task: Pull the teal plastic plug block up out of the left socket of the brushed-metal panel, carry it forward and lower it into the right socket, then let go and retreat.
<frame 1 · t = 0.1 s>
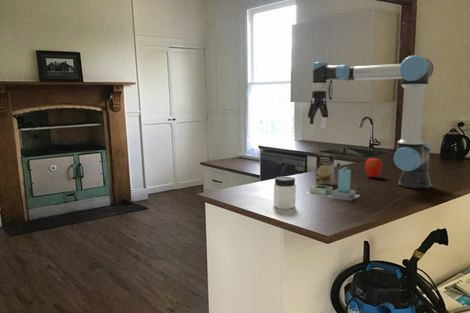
hand: (317, 129, 215), 28 cm above the worktop, fingers open, 13 cm apart
jar: (284, 206, 160), on the worktop
plug: (343, 196, 174), point 1 cm above the worktop, touching panel
coffee box: (324, 185, 202), on the worktop
apple: (372, 177, 222), on the worktop
panel: (332, 196, 177), on the worktop
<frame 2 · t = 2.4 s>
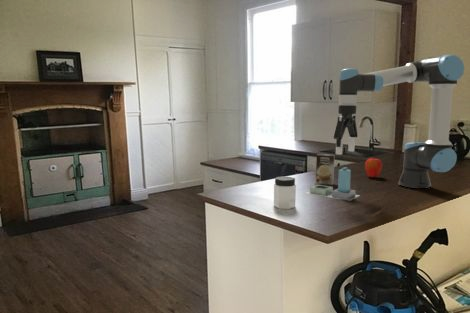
hand: (345, 152, 171), 21 cm above the worktop, fingers open, 13 cm apart
nothing on the worktop moved.
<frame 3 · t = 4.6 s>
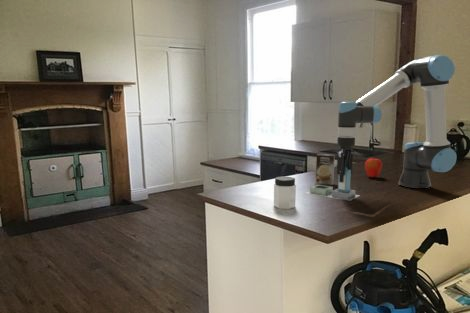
hand: (344, 188, 173), 5 cm above the worktop, fingers closed on plug, 4 cm apart
plug: (343, 196, 174), point 1 cm above the worktop, touching gripper, panel
everything else where it was.
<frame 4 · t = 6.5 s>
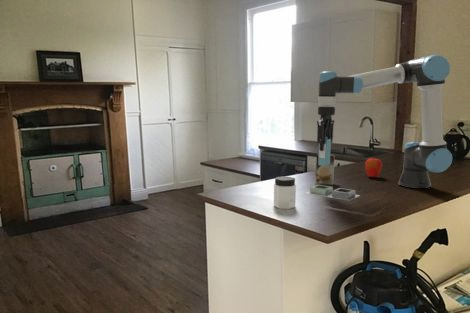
hand: (324, 157, 178), 18 cm above the worktop, fingers closed on plug, 4 cm apart
plug: (324, 164, 178), point 14 cm above the worktop, touching gripper
everything else where it was.
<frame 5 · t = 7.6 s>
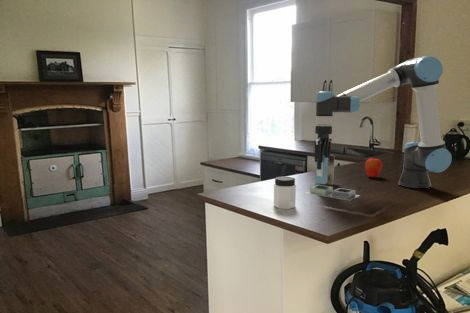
hand: (321, 175, 180), 9 cm above the worktop, fingers closed on plug, 4 cm apart
plug: (321, 182, 180), point 6 cm above the worktop, touching gripper
everything else where it was.
when the fingers open (6 cm above the worktop, at t = 8.5 s): plug stays where it is, resting on panel.
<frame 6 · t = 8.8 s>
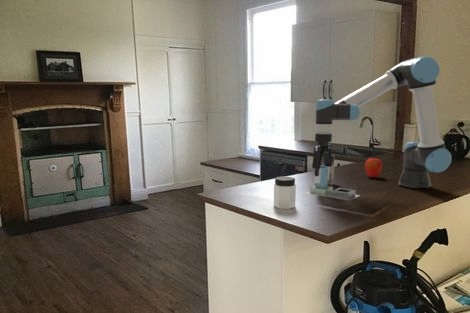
hand: (321, 181, 180), 6 cm above the worktop, fingers open, 8 cm apart
plug: (321, 192, 181), point 1 cm above the worktop, touching panel
everything else where it was.
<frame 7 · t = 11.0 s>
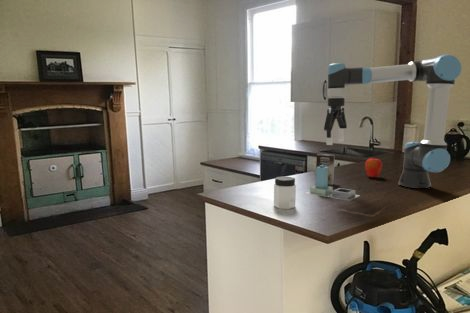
hand: (335, 143, 180), 24 cm above the worktop, fingers open, 13 cm apart
nothing on the worktop moved.
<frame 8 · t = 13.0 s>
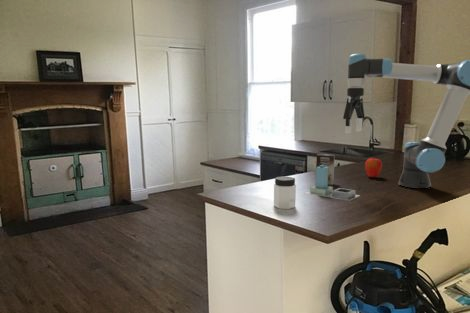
hand: (353, 132, 185), 29 cm above the worktop, fingers open, 13 cm apart
nothing on the worktop moved.
at the end: plug 0.1 cm from the target spot on the panel, point 1.0 cm above the panel's base; plug tilted 0°; the gripper is holding nothing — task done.
